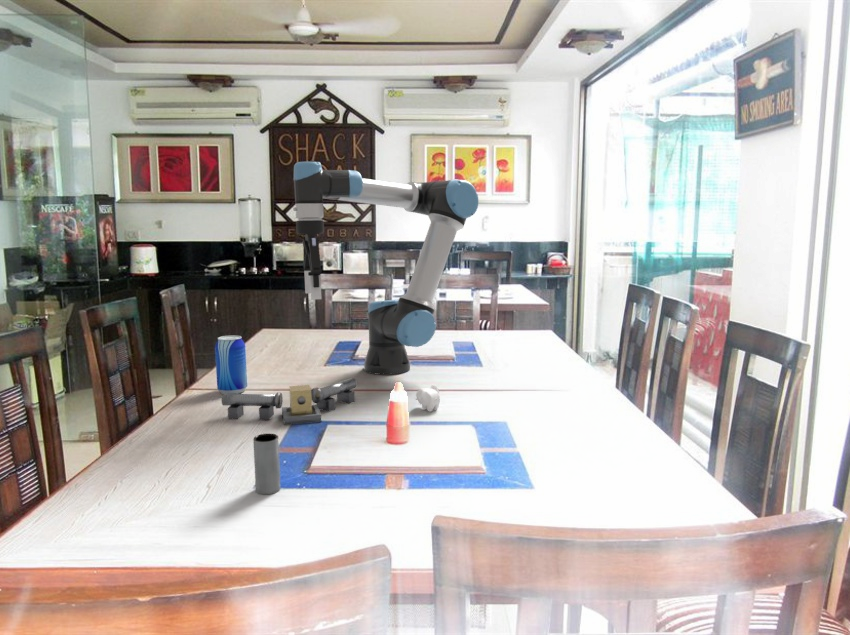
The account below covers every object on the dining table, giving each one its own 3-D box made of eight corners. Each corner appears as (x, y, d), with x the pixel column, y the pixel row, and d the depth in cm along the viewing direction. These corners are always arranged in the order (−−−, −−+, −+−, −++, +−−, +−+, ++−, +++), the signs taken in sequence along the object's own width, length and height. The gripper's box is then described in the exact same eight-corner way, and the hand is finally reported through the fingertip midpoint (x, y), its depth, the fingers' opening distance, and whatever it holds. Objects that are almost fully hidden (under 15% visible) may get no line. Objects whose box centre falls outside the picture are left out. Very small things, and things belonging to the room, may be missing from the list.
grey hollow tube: (258, 485, 125) (255, 433, 124) (282, 484, 126) (279, 432, 124) (253, 495, 121) (251, 441, 119) (278, 494, 121) (276, 441, 120)
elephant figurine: (427, 403, 178) (426, 382, 177) (448, 409, 172) (448, 387, 171) (408, 408, 173) (408, 387, 172) (430, 415, 168) (430, 392, 167)
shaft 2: (322, 414, 169) (321, 389, 168) (309, 411, 172) (309, 387, 171) (359, 400, 181) (358, 377, 180) (346, 397, 184) (346, 375, 183)
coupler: (290, 412, 168) (289, 386, 167) (309, 410, 169) (309, 384, 168) (292, 419, 163) (291, 391, 161) (312, 417, 164) (311, 390, 163)
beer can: (239, 396, 186) (236, 340, 183) (212, 394, 188) (208, 339, 185) (252, 388, 194) (249, 335, 192) (226, 386, 196) (223, 334, 193)
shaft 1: (283, 414, 168) (282, 390, 167) (278, 420, 164) (277, 395, 163) (227, 413, 170) (226, 389, 169) (221, 419, 165) (219, 394, 164)
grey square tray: (317, 411, 171) (317, 404, 171) (321, 421, 163) (321, 414, 163) (282, 414, 169) (281, 407, 169) (284, 425, 160) (284, 418, 160)
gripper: (291, 219, 190) (295, 291, 194) (300, 220, 167) (304, 302, 171) (317, 218, 193) (320, 290, 196) (330, 220, 169) (333, 301, 173)
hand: (313, 296), depth 183 cm, fingers open, 13 cm apart
